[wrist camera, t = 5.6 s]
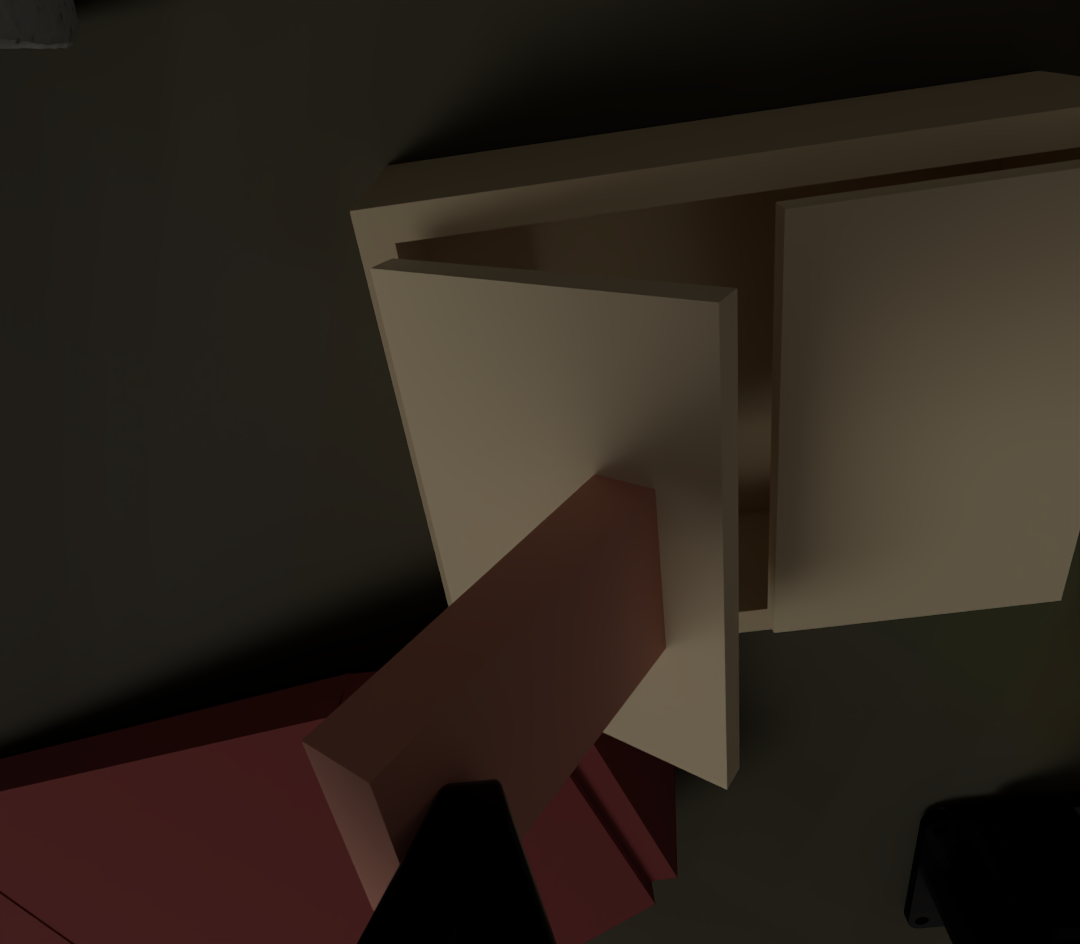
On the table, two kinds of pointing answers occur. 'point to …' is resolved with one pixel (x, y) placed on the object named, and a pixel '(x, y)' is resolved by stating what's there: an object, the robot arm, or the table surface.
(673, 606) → the flap
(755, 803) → the table surface
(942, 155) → the small beige cabinet
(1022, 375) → the flap
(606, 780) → the carton
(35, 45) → the grey rounded lump
